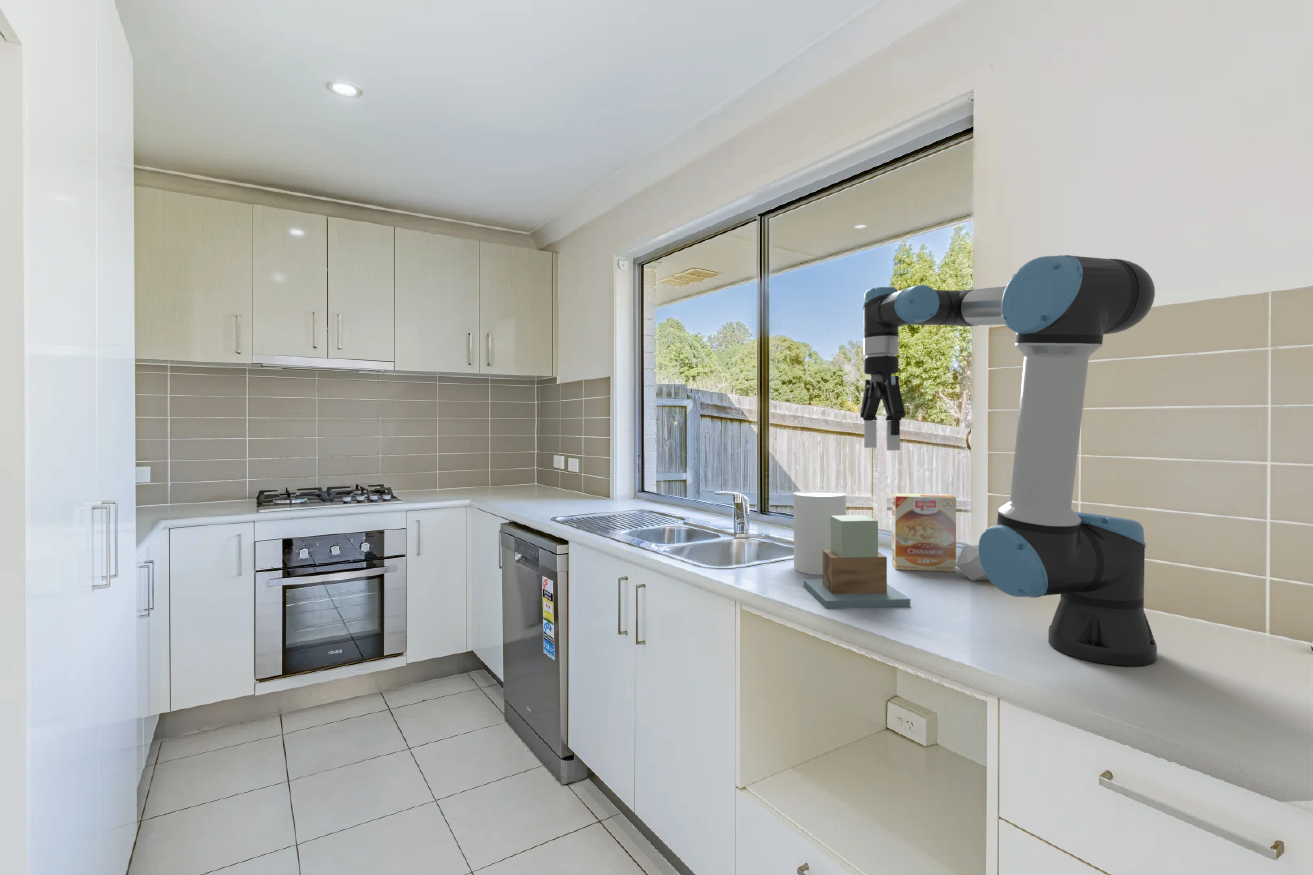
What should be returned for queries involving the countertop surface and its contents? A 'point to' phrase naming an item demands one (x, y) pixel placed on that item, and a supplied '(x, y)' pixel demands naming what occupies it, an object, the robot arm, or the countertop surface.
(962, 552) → the die
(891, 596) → the base board
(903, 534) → the coffeecake box
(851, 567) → the walnut block
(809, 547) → the canister
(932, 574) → the countertop surface
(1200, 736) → the countertop surface
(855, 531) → the sage block
